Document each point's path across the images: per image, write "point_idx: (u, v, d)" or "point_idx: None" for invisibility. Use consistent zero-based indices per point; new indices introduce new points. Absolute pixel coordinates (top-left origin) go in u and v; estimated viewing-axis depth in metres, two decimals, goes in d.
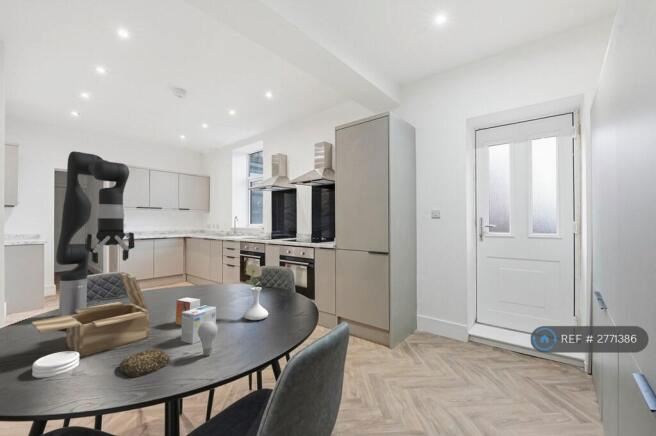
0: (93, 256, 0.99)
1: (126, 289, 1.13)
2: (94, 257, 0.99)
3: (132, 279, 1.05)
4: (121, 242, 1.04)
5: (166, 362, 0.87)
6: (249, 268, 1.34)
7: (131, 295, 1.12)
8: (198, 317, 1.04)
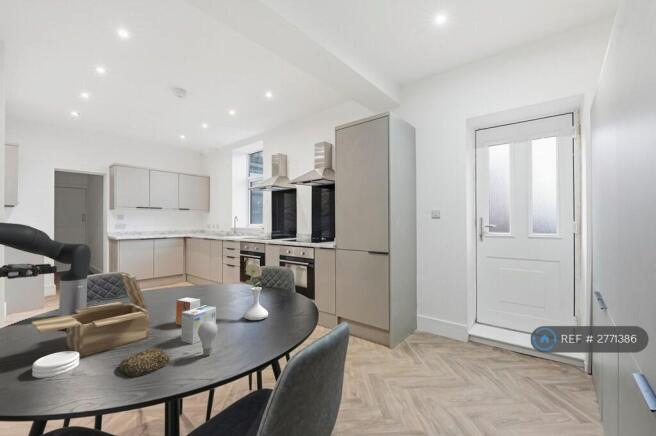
0: None
1: (126, 289, 1.13)
2: None
3: (132, 279, 1.05)
4: (22, 277, 0.84)
5: (166, 362, 0.87)
6: (249, 268, 1.34)
7: (131, 295, 1.12)
8: (198, 317, 1.04)
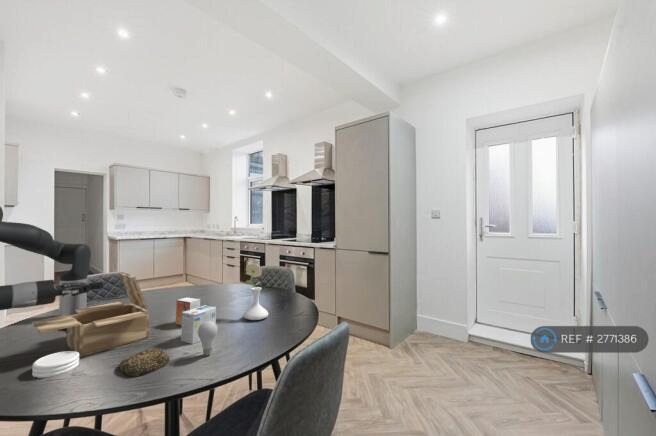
0: None
1: (126, 289, 1.13)
2: None
3: (132, 279, 1.05)
4: None
5: (166, 362, 0.87)
6: (249, 268, 1.34)
7: (131, 295, 1.12)
8: (198, 317, 1.04)
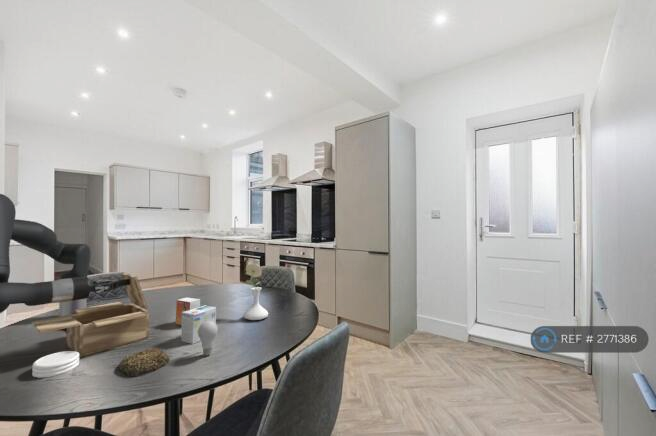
0: None
1: (127, 289, 1.13)
2: None
3: (133, 278, 1.05)
4: None
5: (166, 361, 0.87)
6: (249, 268, 1.34)
7: (131, 295, 1.12)
8: (198, 317, 1.04)
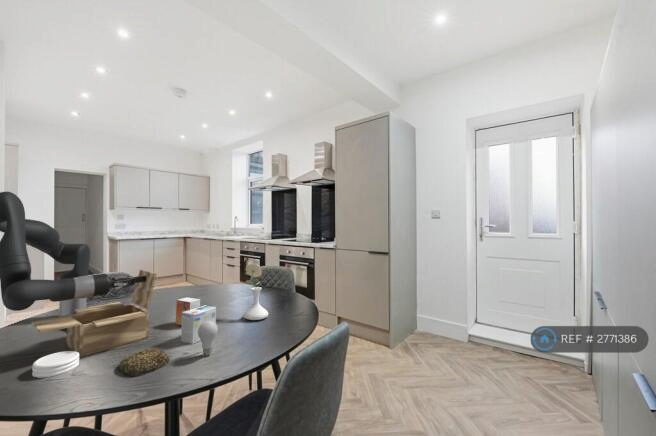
0: None
1: (136, 286, 1.16)
2: None
3: (152, 275, 1.10)
4: None
5: (165, 361, 0.87)
6: (249, 268, 1.34)
7: (138, 293, 1.14)
8: (198, 317, 1.04)
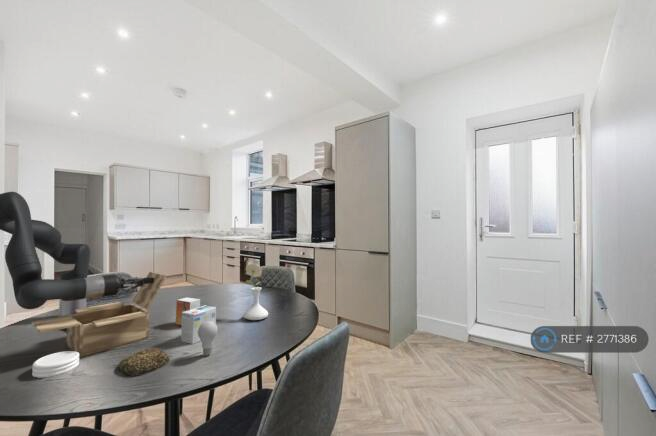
0: None
1: (141, 287, 1.17)
2: None
3: (162, 277, 1.13)
4: None
5: (165, 361, 0.87)
6: (249, 268, 1.34)
7: (141, 293, 1.15)
8: (198, 317, 1.04)
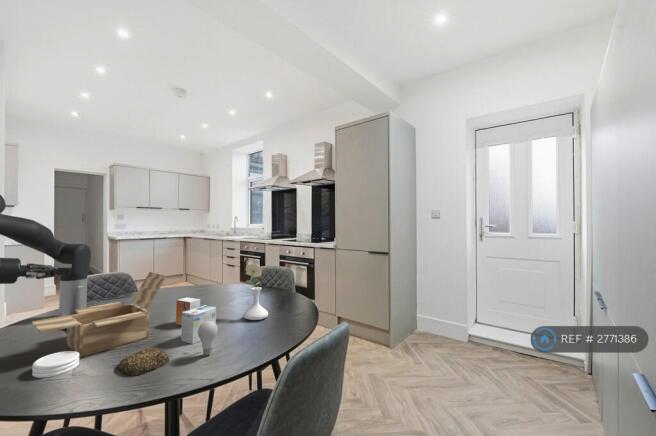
0: None
1: (141, 287, 1.17)
2: None
3: (162, 277, 1.13)
4: None
5: (165, 361, 0.87)
6: (249, 268, 1.34)
7: (141, 293, 1.15)
8: (198, 317, 1.04)
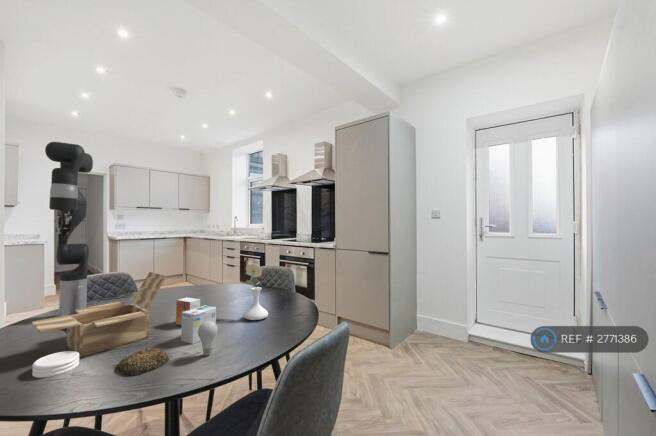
0: None
1: (141, 287, 1.17)
2: None
3: (162, 277, 1.13)
4: (57, 223, 1.02)
5: (165, 361, 0.88)
6: (249, 268, 1.34)
7: (141, 293, 1.15)
8: (198, 317, 1.04)
